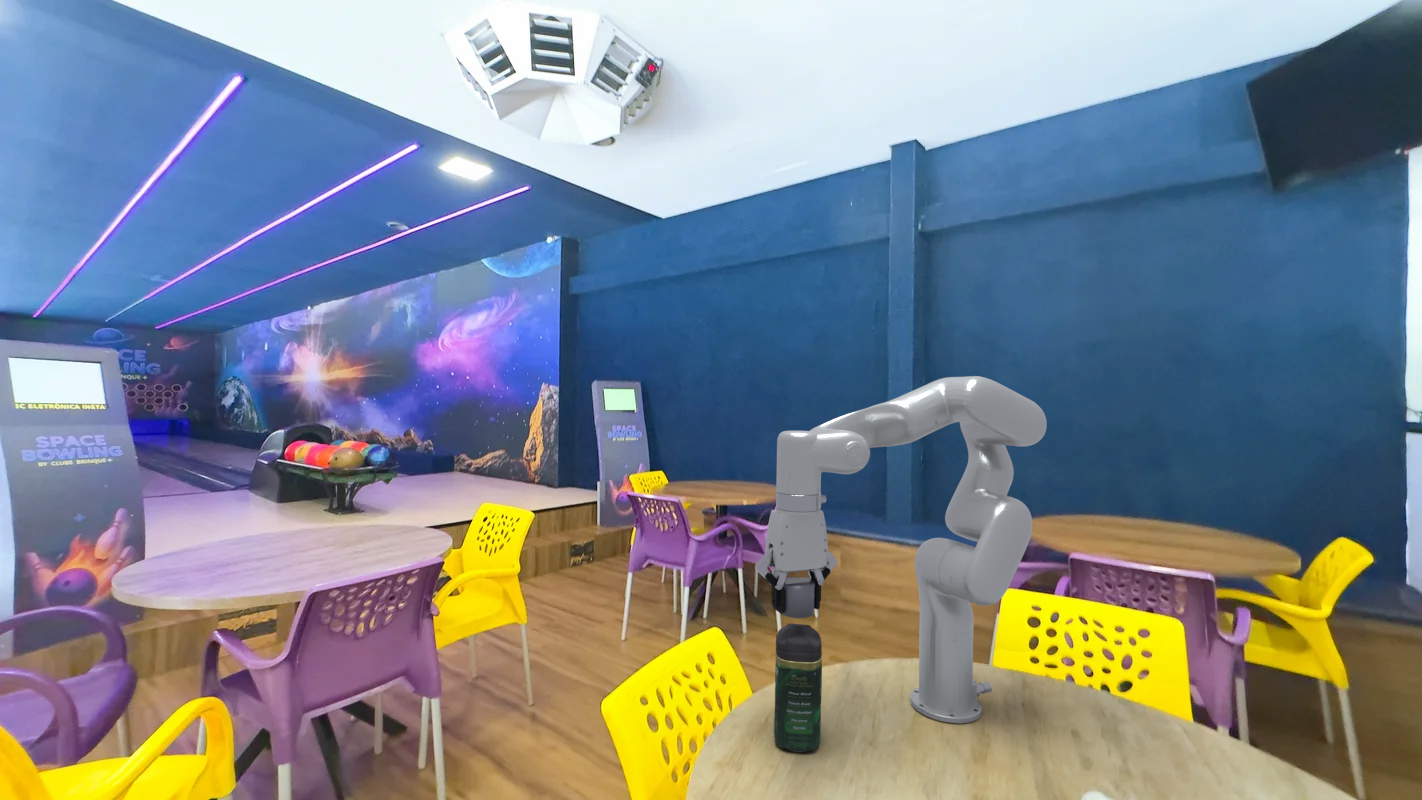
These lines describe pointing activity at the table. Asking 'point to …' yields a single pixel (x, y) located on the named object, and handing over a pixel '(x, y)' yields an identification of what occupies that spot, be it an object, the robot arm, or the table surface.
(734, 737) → the table surface
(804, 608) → the lid
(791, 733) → the coffee jar
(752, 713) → the table surface
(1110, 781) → the table surface
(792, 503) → the robot arm
